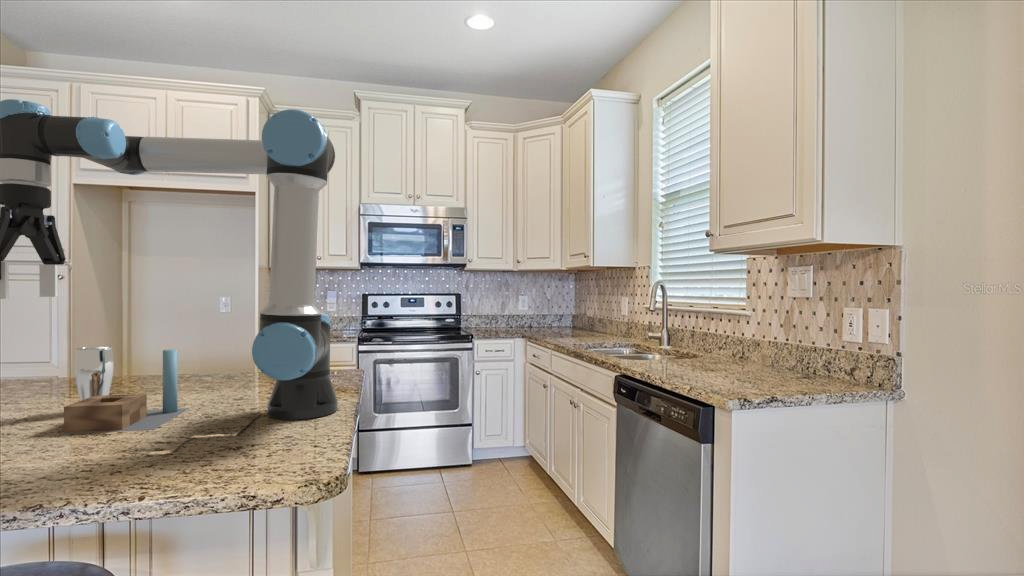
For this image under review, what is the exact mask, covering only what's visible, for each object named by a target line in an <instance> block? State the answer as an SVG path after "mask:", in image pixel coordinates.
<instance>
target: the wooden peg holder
mask: <svg viewBox="0 0 1024 576" xmlns="http://www.w3.org/2000/svg"><path fill="white" fill-rule="evenodd" d="M147 399H148V394H147V393H142V394H141V393H139V394H136V393H135V394H134V393H133V394H112V395H111V394H109V395H104V396H92V397H89V398H87V399H84V400H81V401H79V400H78V401H75V402H73V403H71V404H68V405H65V406H63V433H64V432H85V431H106V430H123V429H125V428H127V427H128V426H130V425H132V424H134V423H136V422H138V421H140V420H142V419H144V418H146V417H147V410H148V407H147V402H148V401H147Z"/></svg>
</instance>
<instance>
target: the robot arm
mask: <svg viewBox="0 0 1024 576" xmlns="http://www.w3.org/2000/svg"><path fill="white" fill-rule="evenodd" d="M52 156H53V157H70V158H71V157H73V158H82V159H85V160H88V161H91V162H93V163H96V164H98V165H102V166H105V167H106V168H108V169H111V170H112V171H113V170H114V171H115V172H118V173H120V174H123V175H130V176H131V175H132V176H137V175H142V174H144V173H148V172H149V173H151V172H154V173H185V174H186V173H188V174H189V173H192V174H196V173H197V174H227V175H228V174H229V175H230V174H232V175H233V174H235V175H240V174H241V175H266V179H267V180H268V181H269V182H270V183H271V184H272V185H273V188H274V189H273V205H272V206H273V207H272V209H273V210H272V228H271V229H272V230H271V232H272V233H271V252H270V271H269V275H270V276H269V277H270V278H269V292H268V293H269V294H268V295H269V297H268V304H267V305H266V306H265V307H264V308H263V309H261V310H260V313H259V314H260V315H259V331H258V333H257V334H256V336H255V339H254V340H253V343H252V347H251V356H252V361H253V363H254V364H255V366H256V368H257V369H258V370H259V371H260V372H261V373H262V374H263V375H265V376H266V377H268V378H270V379H273V380H275V384H274V386H273V389H272V391H271V395H270V397H269V400H268V403H267V417H270V418H272V419H275V420H277V419H278V420H284V421H285V420H286V421H287V420H291V421H292V420H295V421H296V420H308V419H315V418H320V417H324V416H328V415H332V414H334V413H335V412H337V411H338V408H339V407H338V403H339V402H338V397H337V395H336V391H335V388H334V385H333V382H332V380H331V330H332V324H331V319H330V316H329V315H328V314H327V313H324V312H323V313H322V312H321V311H320V310H319V309H318V308H317V307H316V306H315V305H316V304H315V290H316V287H315V286H316V271H317V270H316V269H317V268H316V266H317V264H316V263H317V246H318V245H317V244H318V243H317V242H318V228H319V226H318V223H319V222H318V221H319V206H320V205H319V204H320V203H319V202H320V192H321V190H322V189H323V188H324V187H326V186H327V185H328V175H329V173H330V171H331V170H332V169H333V167H334V164H335V160H336V152H335V147H334V145H333V143H332V141H331V139H330V138H329V136H328V135H327V132H326V129H325V128H324V125H322V123H321V122H320V121H319V120H318V119H316V118H315V117H314V116H313V115H312V114H310V113H309V112H307V111H303V110H301V109H295V108H293V109H292V108H291V109H283V110H280V111H277V112H276V113H274V114H273V115H272V116H270V117H269V118H267V120H266V121H265V123H264V125H263V126H262V130H261V140H260V139H231V138H230V139H229V138H227V139H226V138H206V137H205V138H203V137H202V138H200V137H174V136H173V137H170V136H169V137H168V136H166V137H165V136H164V137H163V136H136V135H135V136H134V135H133V136H131V135H125V132H124V130H123V129H122V128H121V126H120V124H119V123H118V122H116V121H115V120H113V119H108V118H100V117H97V116H87V117H85V116H83V117H82V116H67V115H66V116H65V115H52V114H51V110H50V109H49V108H48V107H46V106H45V105H42V104H40V103H36V102H33V101H29V100H21V99H13V98H12V99H11V98H10V99H2V100H0V300H1V299H2V300H3V299H4V300H5V299H7V300H8V299H9V298H10V297H9V295H10V293H9V290H10V288H9V287H10V286H9V261H5V260H6V258H7V256H8V255H9V253H10V252H11V251H12V248H13V247H14V245H15V244H16V242H17V241H18V239H19V238H20V236H25V238H26V239H29V241H30V242H31V244H32V247H33V248H34V249H35V251H36V253H37V255H38V256H39V258H40V261H41V262H42V264H39V265H38V266H39V275H38V276H39V281H38V282H39V297H40V298H48V297H49V298H50V297H51V298H54V297H55V298H58V297H59V296H58V294H59V292H58V291H59V290H58V289H59V288H58V285H59V283H58V281H59V280H58V278H59V277H58V273H59V271H58V266H59V265H61V266H62V265H64V264H65V261H66V259H67V258H66V255H65V252H64V249H63V245H62V241H61V240H60V236H59V233H58V232H59V231H58V230H57V226H56V225H57V224H56V216H55V215H51V214H50V215H49V214H48V215H46V214H45V215H44V210H45V209H50V208H51V207H52V190H51V189H50V188H48V187H51V186H52V168H51V167H52V163H51V162H52Z"/></svg>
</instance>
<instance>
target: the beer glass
mask: <svg viewBox="0 0 1024 576" xmlns="http://www.w3.org/2000/svg"><path fill="white" fill-rule="evenodd" d="M113 349H114V347H113V346H110V345H107V346H105V345H104V346H103V345H102V346H101V345H100V346H98V345H96V346H83V347H77V348H75V354H74V363H73V368H74V369H73V373H74V380H75V383H76V384H75V385H76V389H77V393H78V401H81V400H84V399H87V398H89V397H92V396H104V395H110V391H111V385H112V381H113V376H114V371H115V370H114V369H115V368H114V367H115V363H114V353H113Z"/></svg>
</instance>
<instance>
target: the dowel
mask: <svg viewBox="0 0 1024 576" xmlns="http://www.w3.org/2000/svg"><path fill="white" fill-rule="evenodd" d="M178 352H179V351H178V349H164V350H162V409H163V413H174V412H177V409H178V359H179V358H178V356H179V355H178Z"/></svg>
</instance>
